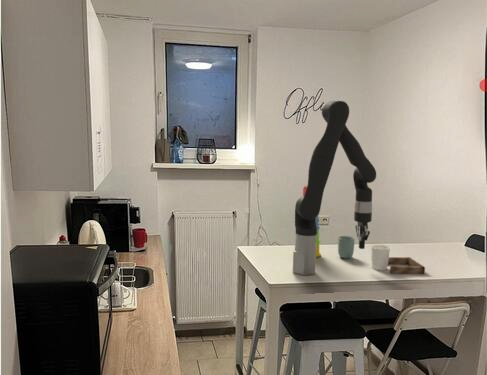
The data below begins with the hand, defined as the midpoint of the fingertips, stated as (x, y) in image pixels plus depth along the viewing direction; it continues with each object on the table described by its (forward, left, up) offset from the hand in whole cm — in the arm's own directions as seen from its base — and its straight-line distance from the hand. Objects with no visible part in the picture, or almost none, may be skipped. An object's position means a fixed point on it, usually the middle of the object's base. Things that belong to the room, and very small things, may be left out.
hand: (361, 248), depth 191 cm
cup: (+9, +14, -10) cm, 19 cm away
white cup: (+7, -6, -10) cm, 13 cm away
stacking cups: (-1, +28, -10) cm, 29 cm away
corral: (+14, -12, -9) cm, 21 cm away
